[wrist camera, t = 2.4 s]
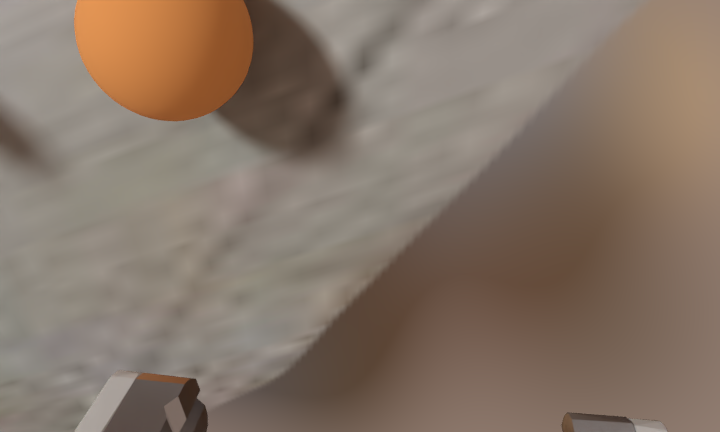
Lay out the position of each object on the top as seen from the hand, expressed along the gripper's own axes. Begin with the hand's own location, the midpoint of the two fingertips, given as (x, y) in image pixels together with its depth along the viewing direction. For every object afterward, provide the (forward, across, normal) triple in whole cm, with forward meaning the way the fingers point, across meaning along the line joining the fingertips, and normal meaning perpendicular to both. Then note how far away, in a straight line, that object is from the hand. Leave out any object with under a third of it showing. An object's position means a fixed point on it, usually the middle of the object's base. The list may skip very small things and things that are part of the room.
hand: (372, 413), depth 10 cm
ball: (+12, +9, -4) cm, 16 cm away
